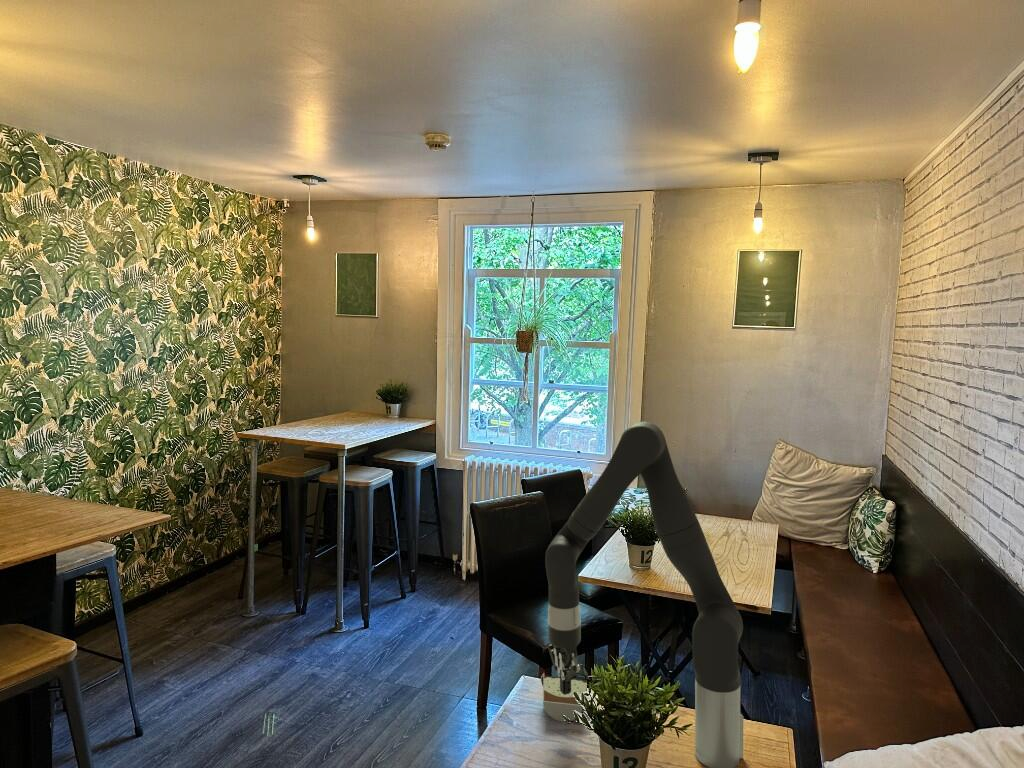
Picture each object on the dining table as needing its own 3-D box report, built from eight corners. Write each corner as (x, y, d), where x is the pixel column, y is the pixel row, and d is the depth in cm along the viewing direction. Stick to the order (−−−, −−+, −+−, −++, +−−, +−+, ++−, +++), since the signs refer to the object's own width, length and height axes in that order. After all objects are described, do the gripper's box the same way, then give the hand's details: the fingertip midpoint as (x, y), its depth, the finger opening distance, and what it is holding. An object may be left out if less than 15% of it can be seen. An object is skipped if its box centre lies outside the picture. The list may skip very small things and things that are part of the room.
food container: (588, 728, 155) (590, 698, 164) (589, 706, 153) (591, 677, 163) (536, 722, 157) (541, 693, 166) (536, 700, 155) (541, 672, 164)
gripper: (593, 629, 147) (594, 702, 149) (564, 607, 159) (565, 674, 161) (564, 637, 144) (566, 711, 146) (536, 613, 156) (538, 682, 158)
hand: (565, 692), depth 153 cm, fingers closed
